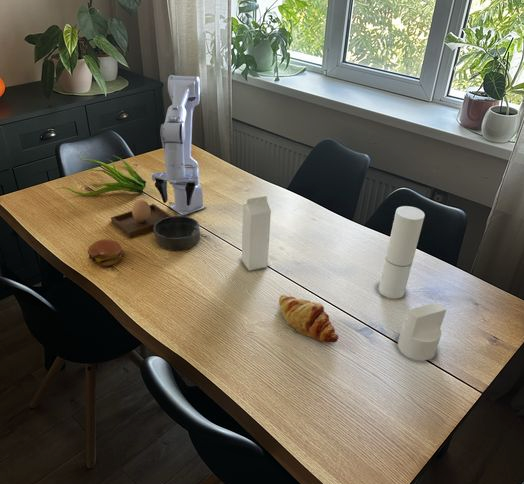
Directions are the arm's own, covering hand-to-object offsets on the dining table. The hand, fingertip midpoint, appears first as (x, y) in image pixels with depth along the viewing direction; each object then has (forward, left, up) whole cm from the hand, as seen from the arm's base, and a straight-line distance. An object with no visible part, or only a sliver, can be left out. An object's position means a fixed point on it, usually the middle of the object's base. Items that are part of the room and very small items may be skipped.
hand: (177, 202), depth 157 cm
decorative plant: (+8, -38, -10) cm, 40 cm away
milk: (-7, +30, -10) cm, 32 cm away
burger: (+26, +1, -10) cm, 28 cm away
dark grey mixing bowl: (+4, +4, -10) cm, 11 cm away
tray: (+7, -11, -10) cm, 16 cm away
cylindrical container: (-29, +64, -10) cm, 71 cm away
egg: (+7, -11, -10) cm, 16 cm away
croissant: (0, +59, -10) cm, 60 cm away
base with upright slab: (-15, +82, -10) cm, 84 cm away
